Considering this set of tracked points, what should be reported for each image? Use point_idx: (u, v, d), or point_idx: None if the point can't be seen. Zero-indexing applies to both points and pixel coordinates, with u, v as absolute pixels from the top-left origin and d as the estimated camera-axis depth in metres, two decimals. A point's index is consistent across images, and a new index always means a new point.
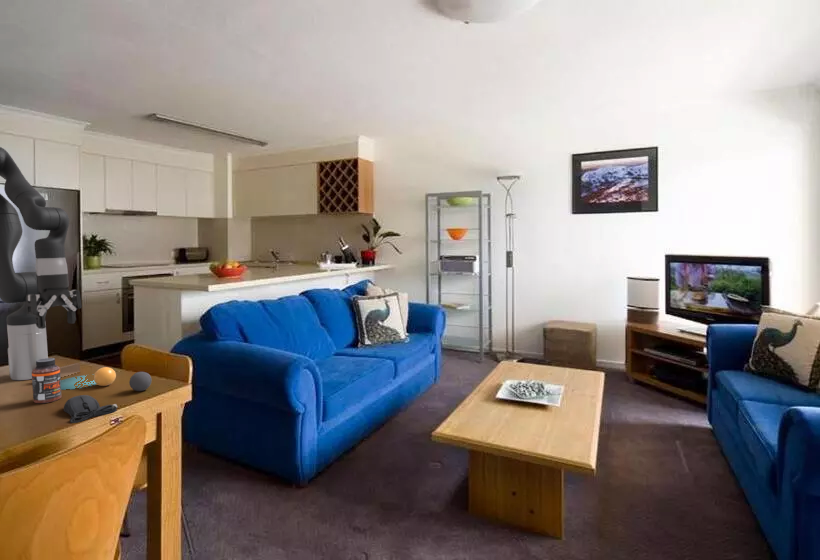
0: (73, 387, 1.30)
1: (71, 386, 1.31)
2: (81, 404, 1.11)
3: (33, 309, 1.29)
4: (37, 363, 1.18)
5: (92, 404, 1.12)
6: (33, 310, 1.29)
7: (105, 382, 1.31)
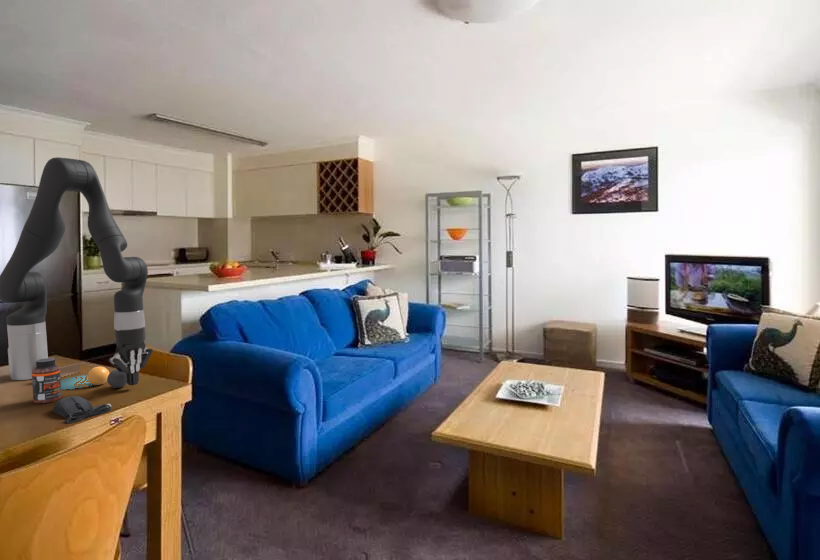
0: (73, 387, 1.30)
1: (71, 386, 1.31)
2: (74, 405, 1.11)
3: (124, 369, 1.25)
4: (37, 363, 1.18)
5: (85, 405, 1.12)
6: (124, 370, 1.25)
7: (99, 375, 1.31)
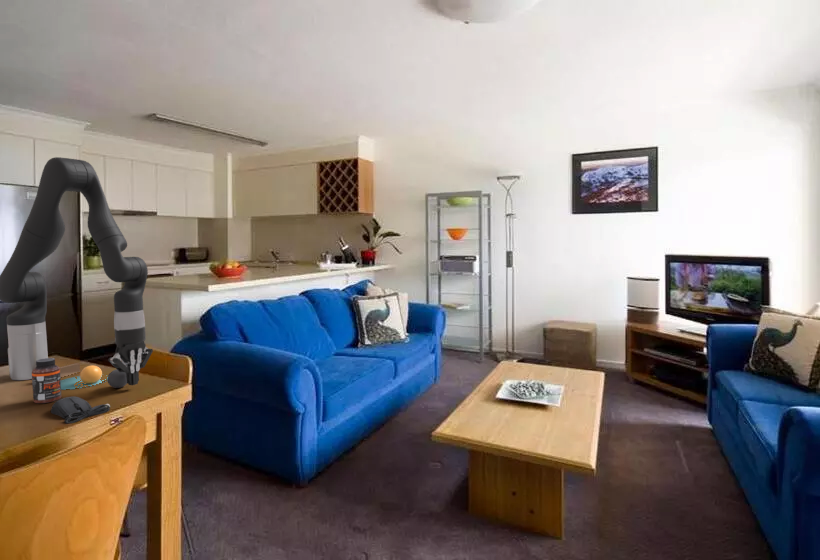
0: (73, 387, 1.30)
1: (71, 386, 1.31)
2: (72, 405, 1.11)
3: (124, 369, 1.25)
4: (37, 363, 1.18)
5: (83, 405, 1.12)
6: (124, 369, 1.25)
7: (86, 368, 1.33)
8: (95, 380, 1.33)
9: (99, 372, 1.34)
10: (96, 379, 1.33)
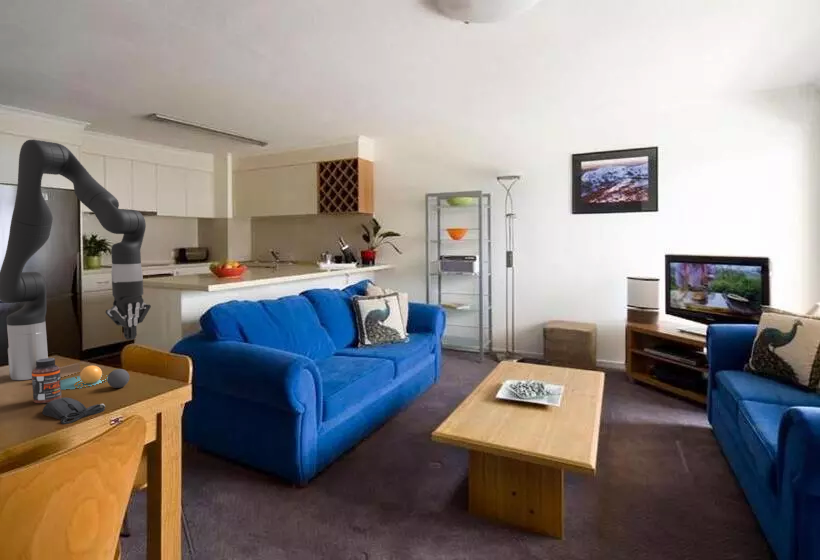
0: (73, 387, 1.30)
1: (71, 386, 1.31)
2: (66, 406, 1.10)
3: (121, 322, 1.24)
4: (37, 363, 1.18)
5: (77, 405, 1.12)
6: (122, 322, 1.24)
7: (86, 368, 1.33)
8: (95, 380, 1.33)
9: (99, 372, 1.34)
10: (96, 379, 1.33)
